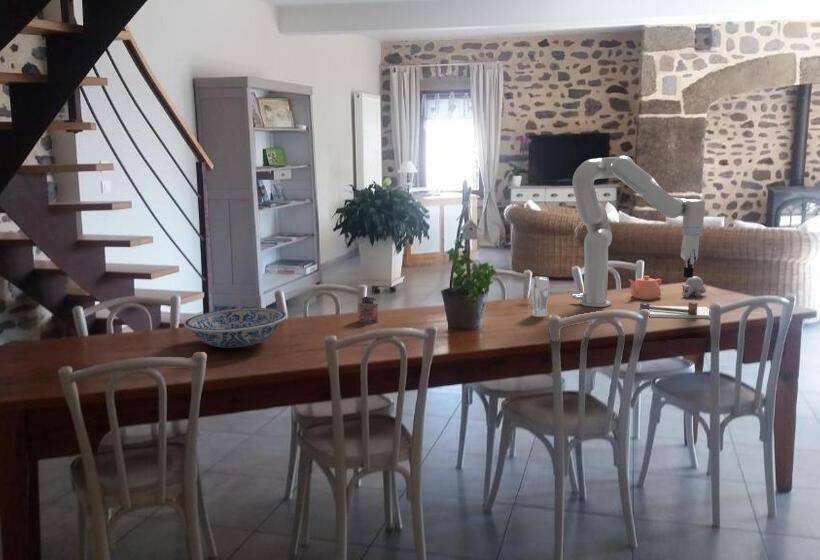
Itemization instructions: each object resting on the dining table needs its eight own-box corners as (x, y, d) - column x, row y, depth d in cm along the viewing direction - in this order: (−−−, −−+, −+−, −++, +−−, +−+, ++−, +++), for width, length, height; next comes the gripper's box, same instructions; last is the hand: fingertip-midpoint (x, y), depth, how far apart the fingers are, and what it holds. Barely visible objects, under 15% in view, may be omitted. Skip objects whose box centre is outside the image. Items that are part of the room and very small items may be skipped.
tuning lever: (638, 309, 298) (639, 299, 297) (640, 307, 301) (641, 297, 300) (696, 314, 288) (696, 304, 287) (697, 312, 291) (698, 302, 290)
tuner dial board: (645, 317, 290) (645, 314, 290) (639, 308, 306) (639, 305, 306) (716, 319, 286) (716, 316, 286) (706, 309, 302) (706, 306, 302)
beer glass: (547, 313, 300) (548, 276, 297) (549, 317, 293) (550, 279, 290) (530, 313, 300) (530, 276, 298) (531, 317, 294) (531, 279, 291)
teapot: (670, 298, 326) (671, 276, 324) (637, 302, 318) (638, 280, 317) (650, 293, 336) (651, 272, 335) (618, 297, 329) (619, 275, 327)
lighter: (357, 321, 291) (356, 296, 289) (362, 319, 294) (361, 294, 292) (375, 323, 287) (375, 297, 285) (380, 321, 290) (379, 296, 288)
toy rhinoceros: (677, 301, 330) (673, 284, 327) (695, 289, 335) (691, 272, 332) (691, 304, 324) (686, 287, 321) (709, 291, 328) (705, 274, 326)
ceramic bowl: (224, 329, 281) (223, 303, 280) (305, 336, 269) (304, 309, 267) (163, 353, 250) (161, 324, 248) (252, 363, 238) (250, 332, 236)
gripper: (678, 228, 303) (674, 273, 307) (685, 233, 289) (681, 280, 292) (698, 229, 302) (694, 274, 305) (706, 234, 287) (701, 281, 291)
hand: (687, 277), depth 299 cm, fingers closed
